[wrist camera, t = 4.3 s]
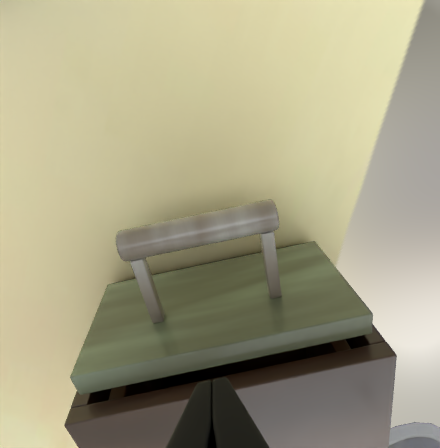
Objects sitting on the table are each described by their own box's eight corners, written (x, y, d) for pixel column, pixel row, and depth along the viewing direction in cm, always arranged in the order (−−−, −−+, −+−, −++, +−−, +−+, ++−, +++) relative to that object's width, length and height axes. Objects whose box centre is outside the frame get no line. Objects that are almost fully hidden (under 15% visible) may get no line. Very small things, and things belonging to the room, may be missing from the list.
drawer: (76, 211, 17) (13, 281, 11) (310, 162, 17) (377, 205, 11) (169, 431, 26) (163, 539, 20) (324, 398, 26) (366, 496, 20)
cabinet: (110, 298, 21) (63, 425, 13) (319, 254, 21) (397, 355, 13) (171, 440, 28) (164, 579, 20) (327, 407, 28) (381, 532, 20)
